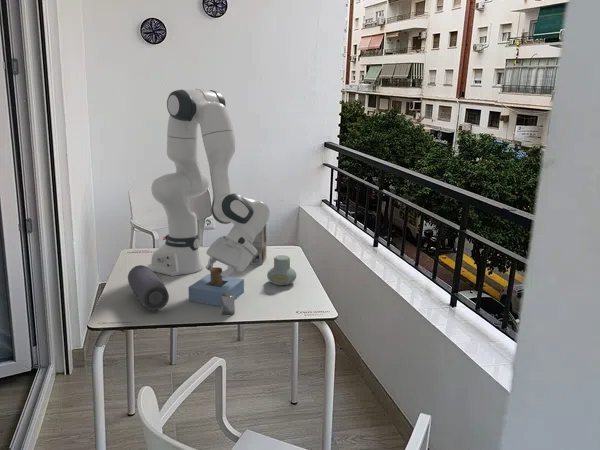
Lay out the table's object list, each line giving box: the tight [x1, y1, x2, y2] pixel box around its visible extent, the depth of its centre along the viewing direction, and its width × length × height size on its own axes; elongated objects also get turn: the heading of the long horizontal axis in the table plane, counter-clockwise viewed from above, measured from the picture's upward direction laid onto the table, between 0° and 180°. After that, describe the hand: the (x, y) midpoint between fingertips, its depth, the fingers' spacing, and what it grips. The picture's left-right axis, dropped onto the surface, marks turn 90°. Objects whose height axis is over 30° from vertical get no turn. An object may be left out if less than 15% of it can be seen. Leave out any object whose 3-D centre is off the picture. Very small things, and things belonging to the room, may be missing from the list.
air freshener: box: [266, 254, 297, 287], centre depth 192 cm, size 11×8×10 cm
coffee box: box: [248, 223, 267, 266], centre depth 216 cm, size 9×6×16 cm
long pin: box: [209, 267, 223, 287], centre depth 178 cm, size 4×4×10 cm
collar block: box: [187, 273, 245, 307], centre depth 179 cm, size 14×14×5 cm
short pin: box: [221, 293, 236, 316], centre depth 165 cm, size 4×4×6 cm
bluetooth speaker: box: [127, 264, 170, 311], centre depth 173 cm, size 23×9×10 cm, turn 30°
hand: (214, 273), depth 177 cm, fingers open, 8 cm apart
